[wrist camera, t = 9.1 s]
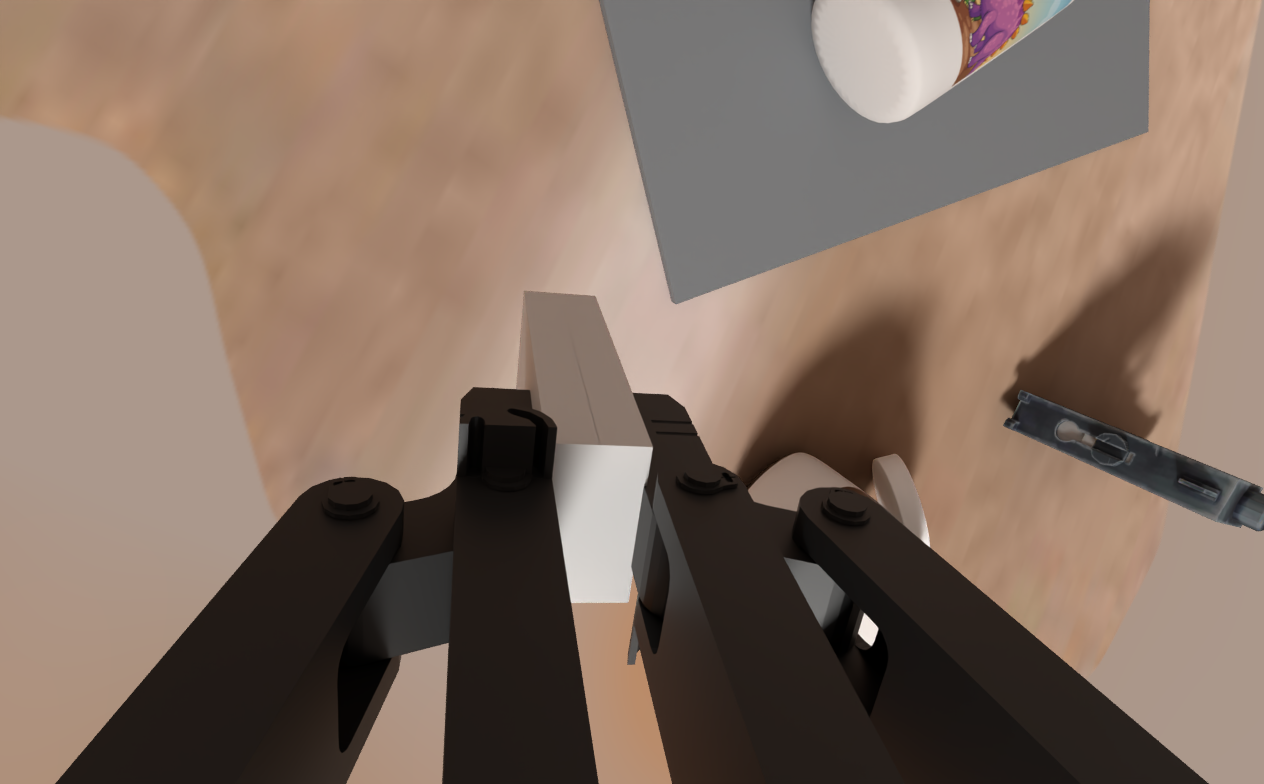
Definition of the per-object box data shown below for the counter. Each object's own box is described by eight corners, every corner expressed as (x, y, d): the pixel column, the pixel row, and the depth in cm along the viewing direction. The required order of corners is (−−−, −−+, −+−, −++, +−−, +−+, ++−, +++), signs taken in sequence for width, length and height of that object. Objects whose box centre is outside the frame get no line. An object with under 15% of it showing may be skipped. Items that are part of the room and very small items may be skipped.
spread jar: (698, 508, 51) (794, 611, 41) (825, 380, 52) (951, 449, 41) (801, 606, 57) (908, 718, 47) (915, 489, 57) (1046, 575, 47)
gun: (1341, 564, 53) (1284, 553, 43) (1089, 453, 65) (1001, 425, 56) (1363, 527, 52) (1311, 508, 43) (1105, 422, 65) (1019, 389, 55)
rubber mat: (671, 301, 46) (676, 304, 46) (587, -50, 39) (590, -53, 38) (1140, 131, 54) (1148, 131, 53) (1141, -191, 47) (1151, -194, 46)
